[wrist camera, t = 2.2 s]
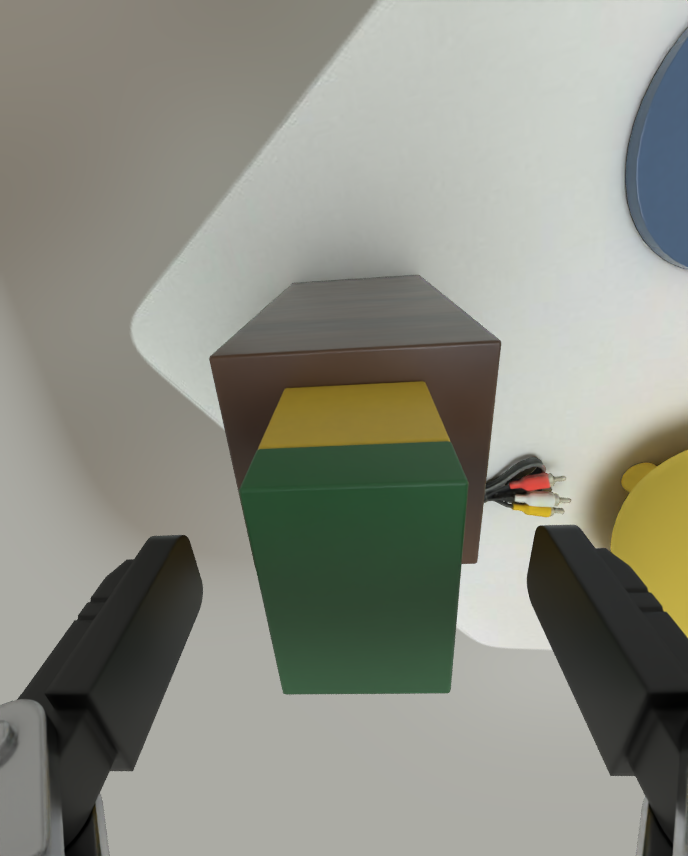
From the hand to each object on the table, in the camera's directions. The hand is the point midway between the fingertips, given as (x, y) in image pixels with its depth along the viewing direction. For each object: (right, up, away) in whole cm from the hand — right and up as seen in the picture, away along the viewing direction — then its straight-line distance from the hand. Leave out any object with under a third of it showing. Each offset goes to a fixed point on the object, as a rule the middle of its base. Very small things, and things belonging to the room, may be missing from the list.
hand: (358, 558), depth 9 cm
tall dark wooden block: (+1, +9, +17) cm, 20 cm away
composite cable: (+11, -1, +22) cm, 25 cm away
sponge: (0, +2, +3) cm, 4 cm away
